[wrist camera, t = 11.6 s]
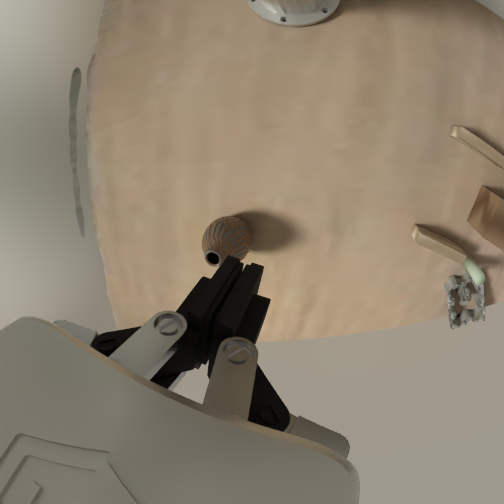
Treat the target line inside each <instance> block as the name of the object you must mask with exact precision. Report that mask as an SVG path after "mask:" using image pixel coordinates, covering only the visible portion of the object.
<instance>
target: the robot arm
mask: <svg viewBox="0 0 504 504" xmlns="http://www.w3.org/2000/svg"><path fill="white" fill-rule="evenodd" d="M247 1H248V4H249V5H250V7H251V8H252V9H253V10H254V11H255V13H256V14H258V15H259V16H260V17H261V18H263V19H265V20H267V21H269V22H271V23H274V24H277V25H282V26H288V27H302V26H308V25H313V24H316V23H319V22H321V21H323V20H325V19H326V18H328V17H329V16H331V15H332V14H333V13H334V12H335V10H336V9H337V8H338V6H339V3H340V1H341V0H256V1H255V0H247ZM253 1H254V2H253ZM324 11H326V12H327V13H323V12H324ZM284 20H287V21H286V22H283V21H284ZM243 265H244V264H243V263H241V262H240V259H239V258H236V257H233V256H230V255H228V256H227V257H226V259H225V260H224V261H223V263H222V264H221V266H220V267H219V268H218V270H217V271H216V273H215V274H214V275H213V277H212V278H211V279H209V278H207V277H202V278H201V279H200V280H199V282H198V283H197V284H196V286H195V287H194V288H193V290H192V291H191V292H190V294H189V295H188V296H187V298H186V299H185V300H184V302H183V303H182V304H181V306H180V307H179V308H178V310H177V311H176V312H174V311H162V312H159V313H157V314H156V315H154V316H153V317H152V318H151V319H150V320H149V321H147V322H146V323H145V324H144V325H143V326H141V327H135V328H130V329H124V330H118V331H113V332H106V333H103V334H98V332H97V331H94V330H92V329H89V328H85V327H83V326H79V325H77V324H74V323H71V322H69V321H66V320H57V321H55V322H53V323H52V322H50V321H47V320H45V319H41V318H37V317H33V316H21V317H18V318H16V319H14V320H13V321H11V322H10V323H9V324H7V325H6V326H5V327H4V328H3V329H2V330H0V504H358V503H359V493H360V482H359V476H358V473H357V470H356V468H355V467H354V466H353V465H352V463H351V462H350V461H348V460H347V459H346V458H347V456H348V454H349V449H350V446H349V442H348V440H347V439H346V437H344V436H342V435H341V434H339V433H337V432H334V431H332V430H330V429H327V428H325V427H323V426H320V425H318V424H316V423H314V422H312V421H310V420H307V419H305V418H303V417H301V416H298V417H296V416H294V415H292V414H290V413H289V411H288V409H287V407H286V406H285V404H284V403H283V402H282V400H281V399H280V397H279V396H278V395H277V393H276V391H275V390H274V388H273V387H272V385H271V384H270V382H269V381H268V379H267V378H266V376H265V375H264V373H263V372H262V370H261V369H260V367H259V366H258V364H257V361H258V350H257V348H256V346H255V343H256V341H257V338H258V336H259V333H260V330H261V328H262V325H263V322H264V319H265V316H266V313H267V310H268V307H269V304H270V300H271V299H269V298H266V297H263V296H259V295H257V293H258V289H259V285H260V281H261V277H262V273H263V269H264V266H261V265H258V264H255V263H252V264H251V265H248V264H247V265H246V266H245V268H244V270H243ZM242 270H243V271H242ZM208 360H209V365H208V374H207V375H208V377H209V379H210V380H209V384H208V387H207V391H206V394H205V398H204V401H203V405H202V404H200V403H197V402H195V401H192V400H190V399H188V398H185V397H183V396H181V395H179V394H177V393H174V392H172V390H173V389H174V388H175V387H176V386H177V384H178V383H179V382H180V381H181V380H182V378H183V377H184V376H185V374H186V371H189V370H192V369H194V368H197V369H199V368H200V366H201V364H204V365H206V363H207V361H208Z"/></svg>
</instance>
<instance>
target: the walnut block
mask: <svg viewBox="0 0 504 504" xmlns="http://www.w3.org/2000/svg"><path fill="white" fill-rule="evenodd" d="M467 221H468V222H469V223H470V224H471V225H472V226H473V227H474V228H475V230H476V231H477V232H478V233H479V234H480V235H481V236H482V237H483V238H484V239H486V240H488V241H489V242H491V243H492V244H494V245H496V246H497V247H499V248H500V249H502V250H503V251H504V200H503V199H501V198H500V197H499V196H497V195H496V194H494V193H493V192H491V191H490V190H488V189H487V188H485V187H484V186H482V187H481V189H480V192H479V194H478V196H477V199H476V201H475V203H474V206H473V208H472V210H471V212H470V215H469V217H468V219H467Z"/></svg>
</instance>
